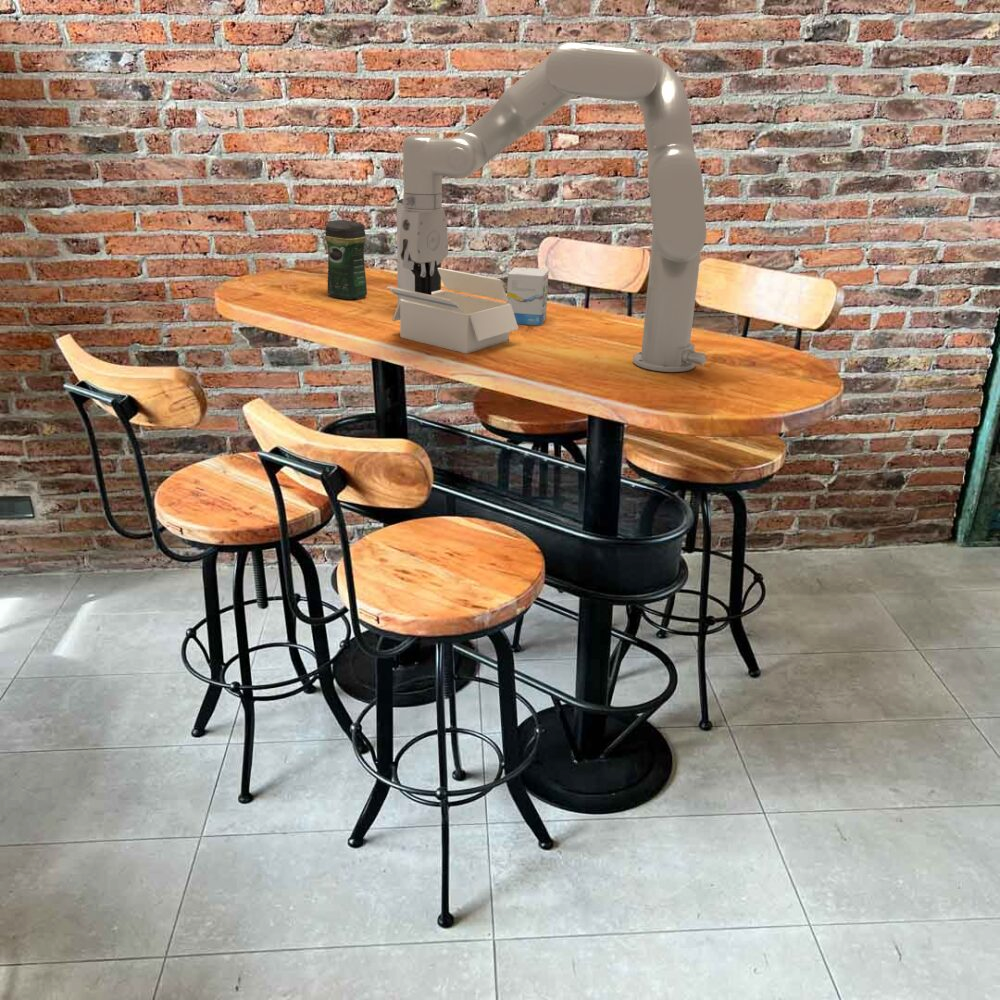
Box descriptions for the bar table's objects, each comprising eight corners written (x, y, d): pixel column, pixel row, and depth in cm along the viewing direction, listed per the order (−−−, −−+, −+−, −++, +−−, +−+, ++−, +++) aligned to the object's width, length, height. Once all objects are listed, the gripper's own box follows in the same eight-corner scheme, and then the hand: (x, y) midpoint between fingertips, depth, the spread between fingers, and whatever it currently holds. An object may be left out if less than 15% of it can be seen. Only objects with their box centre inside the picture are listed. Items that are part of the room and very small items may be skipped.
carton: (519, 343, 210) (520, 305, 207) (477, 356, 199) (478, 316, 196) (434, 323, 223) (434, 287, 220) (390, 335, 213) (390, 297, 209)
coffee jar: (372, 296, 246) (371, 221, 239) (351, 301, 240) (349, 224, 233) (343, 291, 251) (341, 216, 244) (322, 295, 245) (319, 219, 238)
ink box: (540, 326, 225) (543, 275, 220) (504, 323, 226) (506, 272, 221) (546, 318, 232) (549, 268, 228) (511, 315, 234) (513, 266, 229)
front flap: (465, 310, 198) (451, 299, 193) (464, 312, 198) (450, 301, 193) (402, 297, 207) (387, 285, 203) (401, 299, 207) (386, 287, 203)
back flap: (507, 299, 208) (500, 279, 204) (506, 301, 208) (499, 280, 204) (446, 287, 218) (438, 267, 214) (445, 288, 218) (437, 268, 214)
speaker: (413, 319, 226) (413, 203, 215) (387, 310, 233) (386, 197, 223) (449, 313, 233) (451, 200, 222) (423, 305, 240) (423, 195, 229)
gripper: (410, 207, 185) (411, 304, 192) (461, 201, 195) (460, 292, 203) (382, 203, 189) (384, 298, 196) (433, 197, 200) (433, 287, 207)
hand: (423, 295), depth 200 cm, fingers closed
